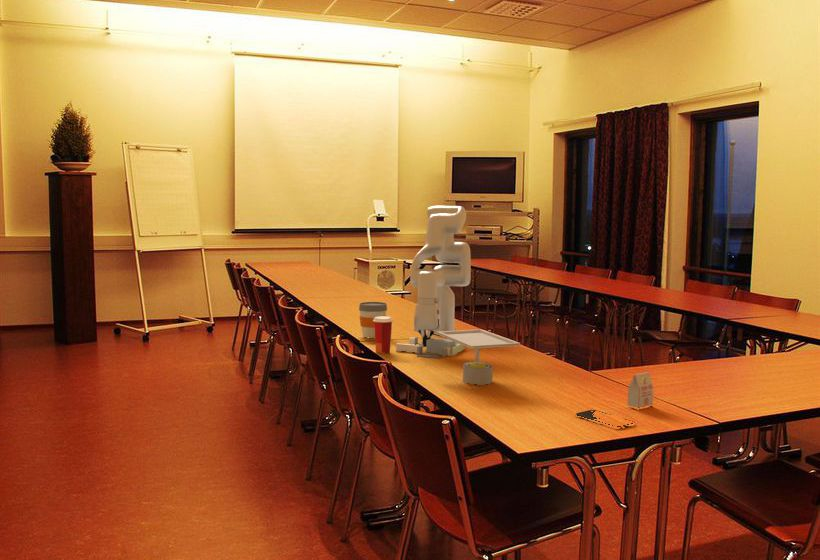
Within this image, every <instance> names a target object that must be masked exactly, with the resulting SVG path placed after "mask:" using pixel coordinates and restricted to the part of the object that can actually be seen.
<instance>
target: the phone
mask: <svg viewBox="0 0 820 560" xmlns="http://www.w3.org/2000/svg"><path fill="white" fill-rule="evenodd" d="M591 411H593V412H591ZM595 411H599V410H597V409H590V410H585V411H580V412H579V411H578V412H576V413H575V416H576V415H577V416H581V417H584V418H587V419H591V420H594V419H597V418H596V417H593V415H594V414H593V413H594V412H595ZM599 412H602V413H605V414H609V413H606V412H603V411H599ZM592 414H593V415H592ZM609 415H611V414H609ZM599 419H600V418H599ZM624 419H625V420H629V419H626V418H624ZM595 421H597V420H595ZM629 421H632V420H629ZM598 422H600V421H598ZM632 422H634V423H635V424H636V422H635V421H632ZM602 423H603V422H602ZM605 424H606V423H605ZM631 424H633V423H631ZM608 425H610V424H608ZM627 425H629V424H627ZM612 426H613V425H612ZM623 426H625V425H623ZM617 427H621V426H617Z"/></svg>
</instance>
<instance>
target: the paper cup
mask: <svg viewBox="0 0 820 560" xmlns="http://www.w3.org/2000/svg"><path fill="white" fill-rule="evenodd" d="M386 316H387V315H386ZM386 316H380V317H375V318H374V320H373V321H374V329H375V339H374V345H375V353H376V352H377V353H376V354H380V353H386V354H390V353H389V352H390V351H391V340H392V328H393V327H392V325H393V319H392V318H393V317H391V316H387V317H386Z"/></svg>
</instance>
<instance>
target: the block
mask: <svg viewBox="0 0 820 560" xmlns="http://www.w3.org/2000/svg"><path fill="white" fill-rule="evenodd" d="M455 345H456V342H454V341H452V340H449V339H447V338H438V337H437V338H436V337H431V339H428V340H427V341H426V347H425V349H426V350H425V351H426V352H425V353H427V352H429V353H428V354H435V353H438V354H439V355H442V349H444V348H446V347H448V348H451V347H453V346H455Z"/></svg>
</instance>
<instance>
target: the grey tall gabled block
mask: <svg viewBox="0 0 820 560" xmlns="http://www.w3.org/2000/svg"><path fill="white" fill-rule="evenodd" d="M653 404H654V385H653V381H652V379H651V375H650V372H648V371H647V372H643V373H637V374H634V375H633V376H632V379H631V382H630V383H629V385H628V387H627V406H628V405H629V406H633V407H637V408H640V407H645V406H649V405H653Z"/></svg>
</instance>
